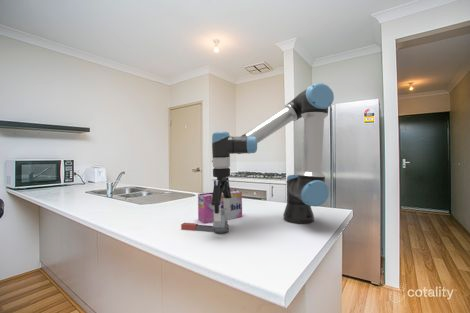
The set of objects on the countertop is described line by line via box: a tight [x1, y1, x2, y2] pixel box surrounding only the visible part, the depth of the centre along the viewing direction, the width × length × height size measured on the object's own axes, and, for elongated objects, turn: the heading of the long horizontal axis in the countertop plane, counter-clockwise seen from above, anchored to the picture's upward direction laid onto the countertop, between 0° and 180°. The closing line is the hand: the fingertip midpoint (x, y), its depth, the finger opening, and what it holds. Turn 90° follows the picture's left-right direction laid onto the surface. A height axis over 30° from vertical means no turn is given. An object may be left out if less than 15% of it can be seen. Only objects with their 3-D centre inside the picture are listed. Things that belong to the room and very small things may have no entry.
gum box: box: [197, 189, 243, 225], centre depth 120 cm, size 24×8×14 cm, turn 123°
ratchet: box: [180, 222, 230, 235], centre depth 101 cm, size 22×6×6 cm, turn 76°
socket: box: [212, 208, 229, 228], centre depth 99 cm, size 5×5×7 cm
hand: (222, 216), depth 99 cm, fingers open, 13 cm apart
